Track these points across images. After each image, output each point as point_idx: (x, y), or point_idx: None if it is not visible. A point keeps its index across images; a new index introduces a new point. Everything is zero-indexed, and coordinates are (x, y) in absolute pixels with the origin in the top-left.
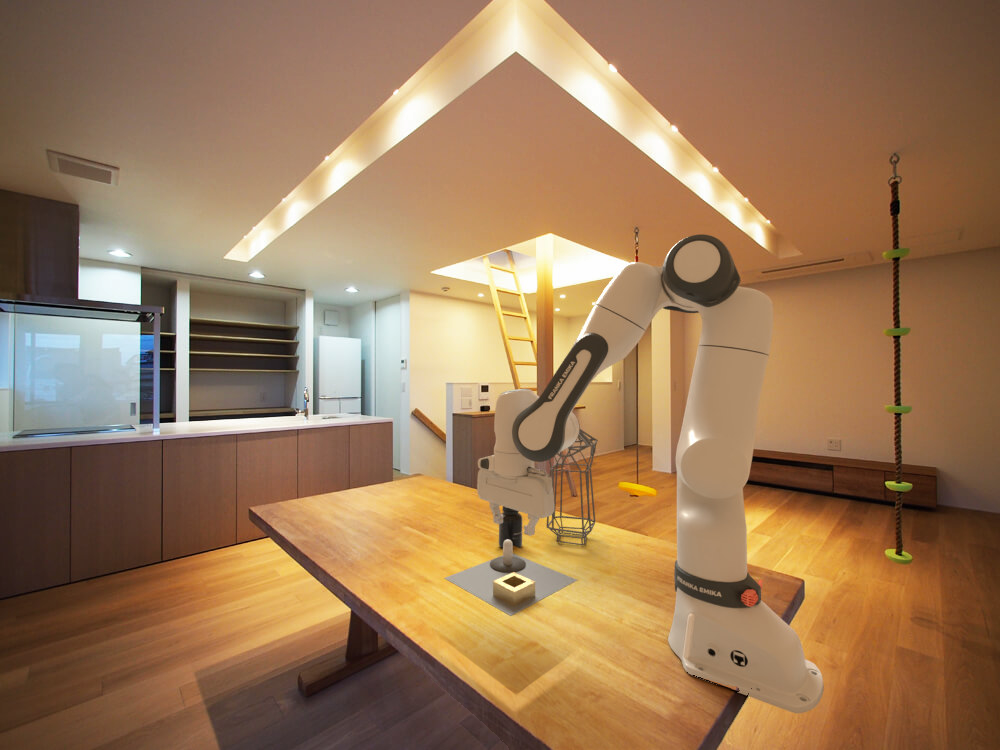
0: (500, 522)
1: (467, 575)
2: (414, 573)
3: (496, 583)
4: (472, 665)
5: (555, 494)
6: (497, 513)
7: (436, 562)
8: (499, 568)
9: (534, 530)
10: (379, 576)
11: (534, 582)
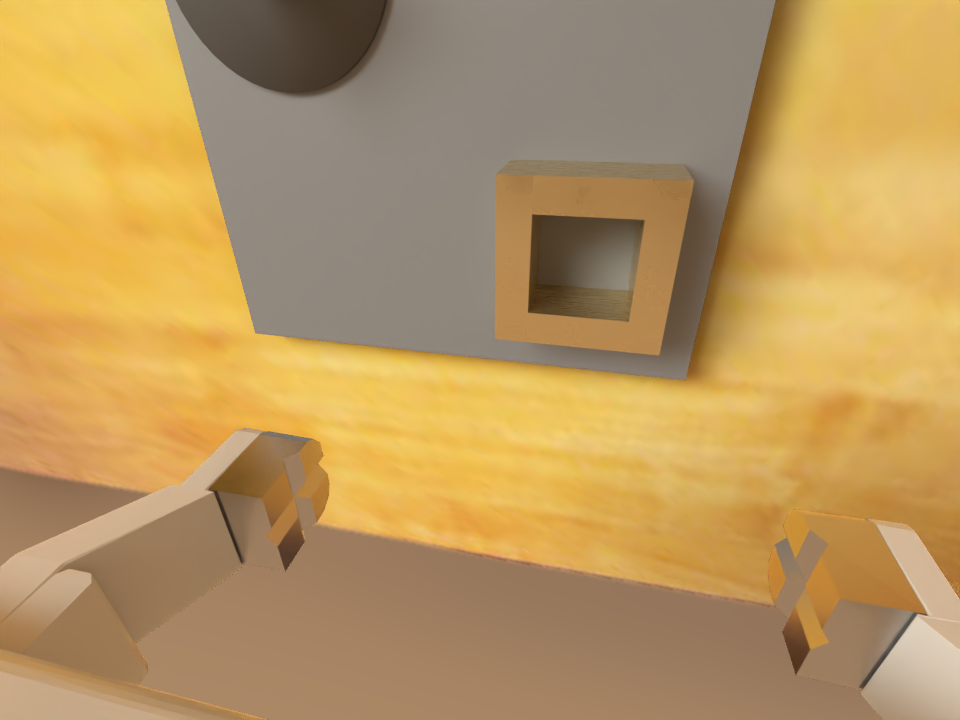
0: (312, 466)
1: (281, 249)
2: (138, 333)
3: (521, 339)
4: (711, 559)
5: None
6: (213, 545)
7: (63, 207)
8: (303, 65)
9: (927, 563)
10: (121, 414)
11: (691, 188)
